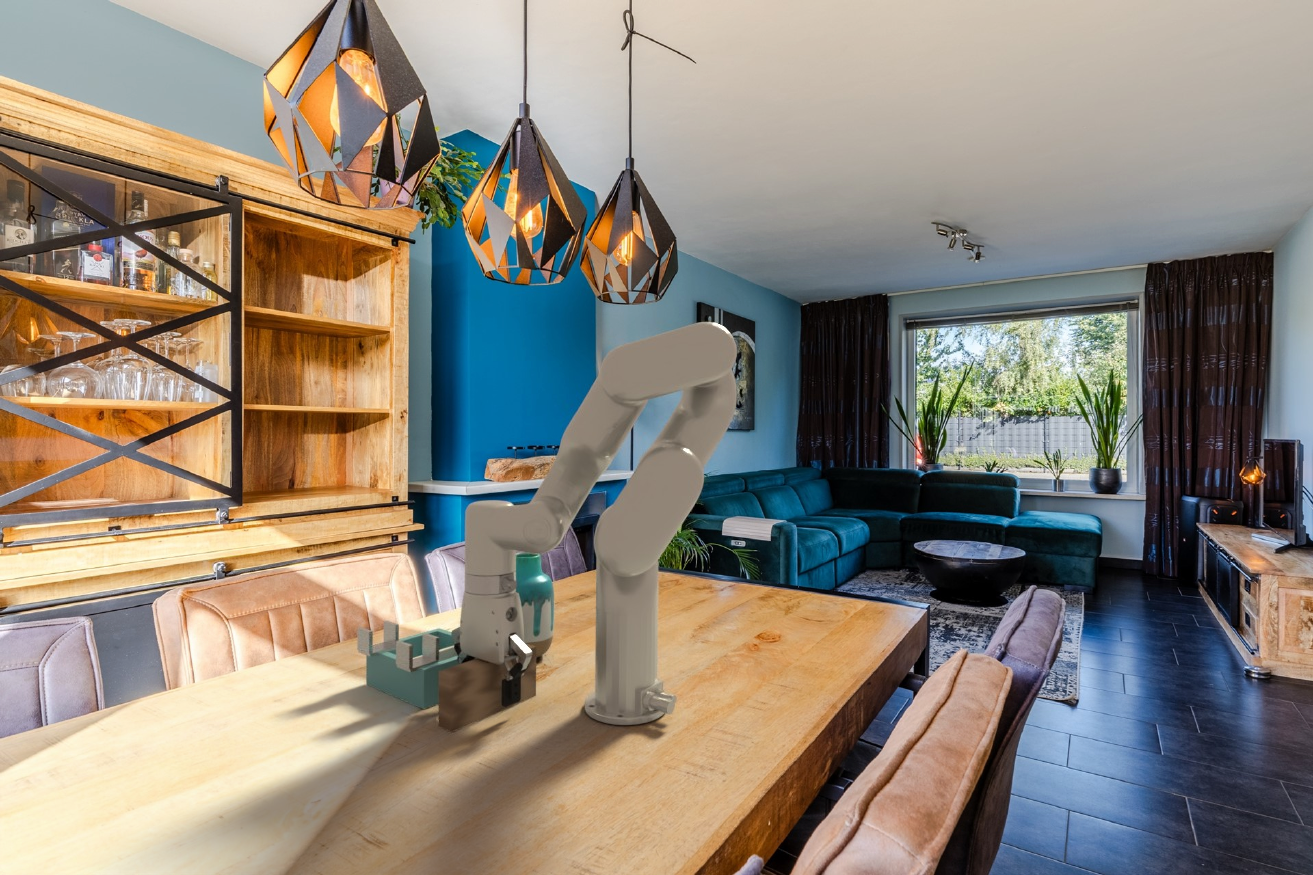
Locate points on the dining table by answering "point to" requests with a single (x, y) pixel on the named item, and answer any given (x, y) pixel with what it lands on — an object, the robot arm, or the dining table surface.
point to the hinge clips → (399, 647)
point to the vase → (535, 601)
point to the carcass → (416, 684)
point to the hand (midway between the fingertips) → (489, 695)
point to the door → (477, 691)
